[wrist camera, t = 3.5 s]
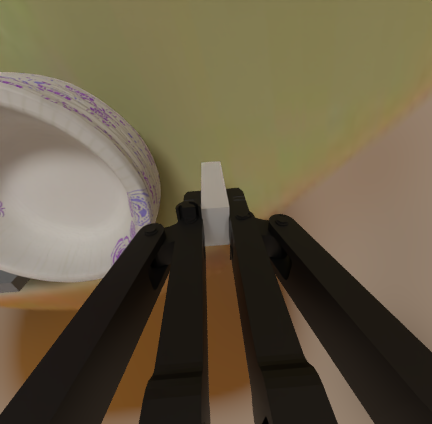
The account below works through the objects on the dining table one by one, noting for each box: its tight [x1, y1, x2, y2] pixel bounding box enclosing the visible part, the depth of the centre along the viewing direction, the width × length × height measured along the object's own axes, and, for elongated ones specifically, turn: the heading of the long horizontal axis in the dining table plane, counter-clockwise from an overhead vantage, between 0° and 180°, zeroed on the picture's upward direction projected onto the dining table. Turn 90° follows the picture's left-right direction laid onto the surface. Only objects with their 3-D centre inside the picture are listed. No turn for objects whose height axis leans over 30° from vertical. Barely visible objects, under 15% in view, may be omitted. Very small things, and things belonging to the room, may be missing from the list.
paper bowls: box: [0, 72, 161, 282], centre depth 16 cm, size 15×15×8 cm
